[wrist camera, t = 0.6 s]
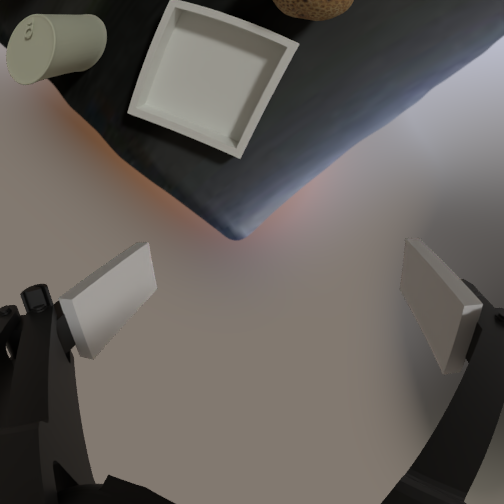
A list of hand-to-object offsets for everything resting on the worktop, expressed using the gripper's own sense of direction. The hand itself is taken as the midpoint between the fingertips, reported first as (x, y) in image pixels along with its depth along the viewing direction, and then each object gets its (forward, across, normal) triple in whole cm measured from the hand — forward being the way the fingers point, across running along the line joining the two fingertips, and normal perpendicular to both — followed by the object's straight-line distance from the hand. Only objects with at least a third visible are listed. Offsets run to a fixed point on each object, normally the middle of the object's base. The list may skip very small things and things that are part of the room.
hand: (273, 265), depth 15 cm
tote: (+24, -9, +16) cm, 30 cm away
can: (+21, -27, +25) cm, 43 cm away
